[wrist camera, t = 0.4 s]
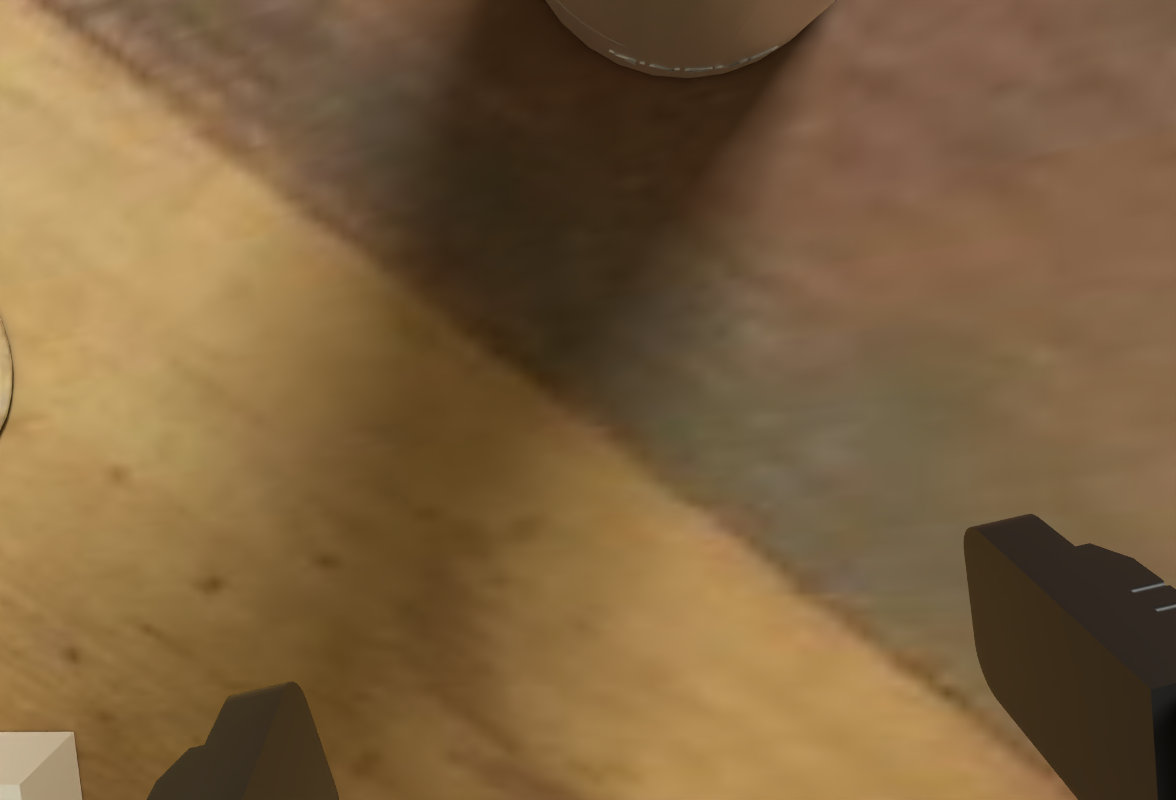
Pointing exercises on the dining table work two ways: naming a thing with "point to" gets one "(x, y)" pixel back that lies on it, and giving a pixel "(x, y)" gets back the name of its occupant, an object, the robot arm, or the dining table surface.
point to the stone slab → (39, 766)
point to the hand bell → (4, 375)
